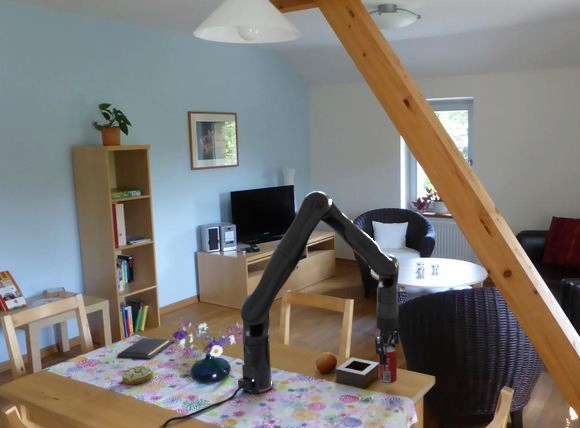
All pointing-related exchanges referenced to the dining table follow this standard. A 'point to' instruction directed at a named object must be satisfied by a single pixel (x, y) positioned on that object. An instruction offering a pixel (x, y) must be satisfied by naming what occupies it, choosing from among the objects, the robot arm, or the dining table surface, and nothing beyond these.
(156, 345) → the dark grey book
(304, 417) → the dining table surface
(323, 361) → the fruit
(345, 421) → the dining table surface
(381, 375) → the beverage can
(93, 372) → the dining table surface
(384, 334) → the robot arm
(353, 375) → the can holder
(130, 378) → the decorated donut
